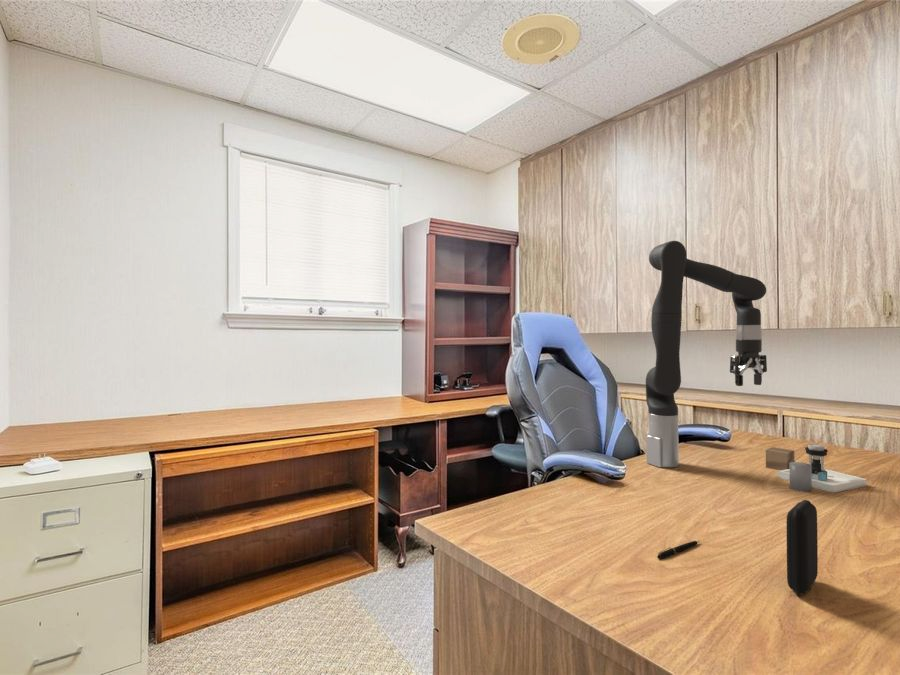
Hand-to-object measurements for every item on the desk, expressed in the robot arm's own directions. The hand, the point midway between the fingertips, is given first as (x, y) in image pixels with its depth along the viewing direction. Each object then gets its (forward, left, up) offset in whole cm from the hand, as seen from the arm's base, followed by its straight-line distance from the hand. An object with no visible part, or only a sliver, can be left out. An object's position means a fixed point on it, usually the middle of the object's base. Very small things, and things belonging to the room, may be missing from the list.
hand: (748, 385), depth 160 cm
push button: (-2, -23, -26) cm, 35 cm away
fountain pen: (-75, -41, -27) cm, 89 cm away
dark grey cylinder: (-13, -25, -26) cm, 39 cm away
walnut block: (+2, -9, -26) cm, 28 cm away
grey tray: (-1, -23, -26) cm, 35 cm away
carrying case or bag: (-65, -59, -27) cm, 92 cm away
